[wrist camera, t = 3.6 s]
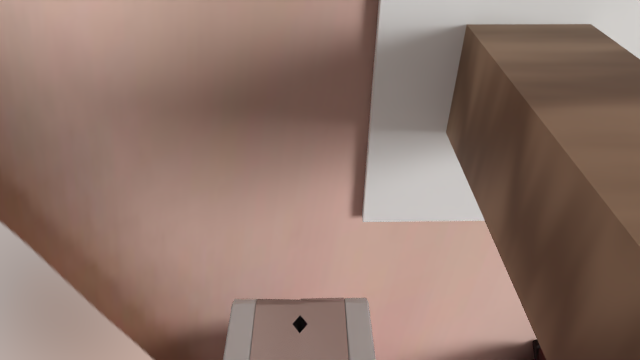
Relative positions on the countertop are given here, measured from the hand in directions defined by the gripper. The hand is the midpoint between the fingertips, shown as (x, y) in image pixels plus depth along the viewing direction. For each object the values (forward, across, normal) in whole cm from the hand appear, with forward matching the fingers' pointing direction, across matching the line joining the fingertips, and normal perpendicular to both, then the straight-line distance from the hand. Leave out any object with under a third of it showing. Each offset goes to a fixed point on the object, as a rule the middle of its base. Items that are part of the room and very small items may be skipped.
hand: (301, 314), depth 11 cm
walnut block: (+12, -9, 0) cm, 15 cm away
